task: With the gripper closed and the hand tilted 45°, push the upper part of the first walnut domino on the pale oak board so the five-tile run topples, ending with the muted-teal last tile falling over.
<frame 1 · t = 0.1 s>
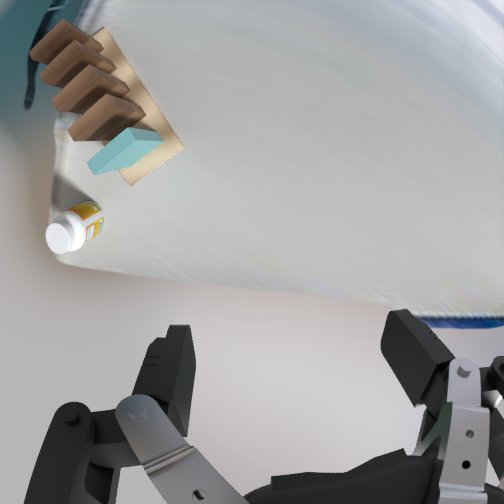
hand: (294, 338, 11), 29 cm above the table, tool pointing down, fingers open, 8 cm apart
domino 4: (127, 123, 32), point 1 cm above the table, touching domino board
supplement bottle: (91, 217, 37), on the table
domino 5: (143, 149, 34), point 1 cm above the table, touching domino board
domino 2: (99, 78, 29), point 1 cm above the table, touching domino board
domino 1: (87, 58, 28), point 1 cm above the table, touching domino board
domino board: (114, 100, 32), on the table
domino 3: (112, 99, 31), point 1 cm above the table, touching domino board
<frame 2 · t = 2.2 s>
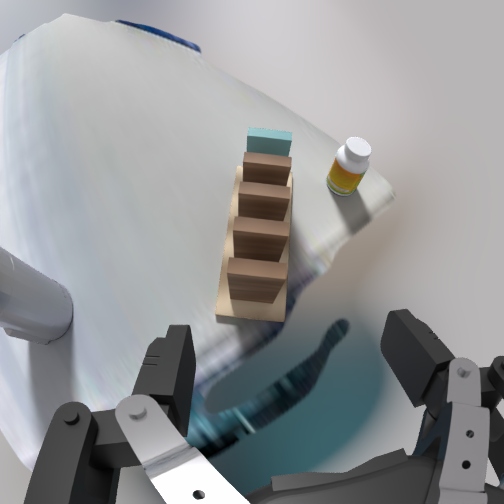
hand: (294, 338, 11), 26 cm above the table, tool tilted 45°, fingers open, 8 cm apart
domino 4: (261, 207, 42), point 1 cm above the table, touching domino board
supplement bottle: (340, 184, 46), on the table
domino 5: (263, 183, 44), point 1 cm above the table, touching domino board
domino 2: (255, 263, 39), point 1 cm above the table, touching domino board
domino 1: (252, 295, 37), point 1 cm above the table, touching domino board
domino board: (258, 236, 41), on the table
domino 3: (258, 233, 41), point 1 cm above the table, touching domino board
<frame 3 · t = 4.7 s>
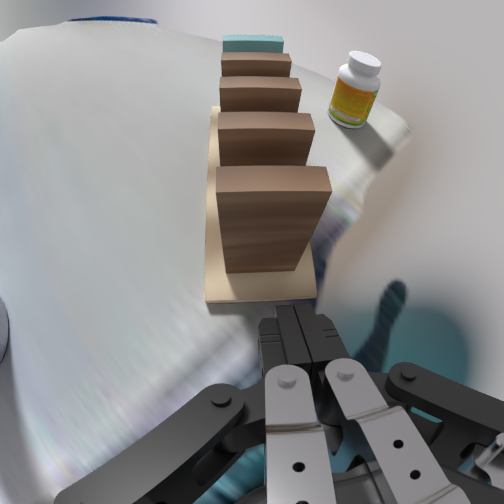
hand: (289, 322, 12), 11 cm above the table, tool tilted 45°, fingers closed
domino 4: (251, 145, 29), point 1 cm above the table, touching domino board
supplement bottle: (345, 117, 34), on the table
domino 5: (249, 119, 31), point 1 cm above the table, touching domino board
domino 2: (256, 216, 25), point 1 cm above the table, touching domino board
domino 1: (259, 263, 23), point 1 cm above the table, touching domino board
domino board: (253, 182, 28), on the table
domino 3: (253, 177, 27), point 1 cm above the table, touching domino board
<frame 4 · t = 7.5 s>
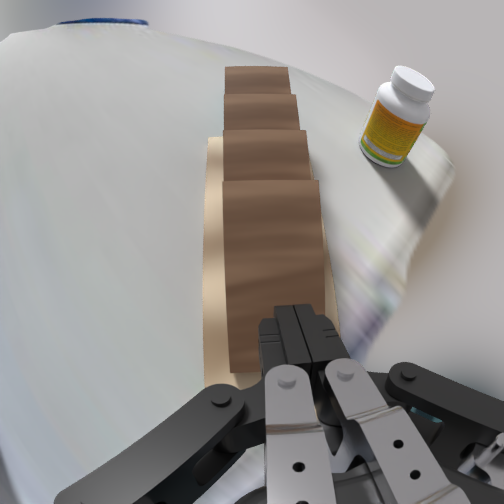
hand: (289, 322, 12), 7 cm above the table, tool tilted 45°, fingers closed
domino 4: (262, 180, 22), point 2 cm above the table, tilted 68°, touching domino 3, domino 5
supplement bottle: (380, 151, 26), on the table
domino 2: (271, 296, 18), point 2 cm above the table, tilted 69°, touching domino 1, domino 3, domino board
domino 1: (276, 366, 16), point 2 cm above the table, tilted 69°, touching domino 2, domino board
domino board: (266, 258, 21), on the table
domino 3: (266, 234, 20), point 2 cm above the table, tilted 68°, touching domino 2, domino 4, domino board
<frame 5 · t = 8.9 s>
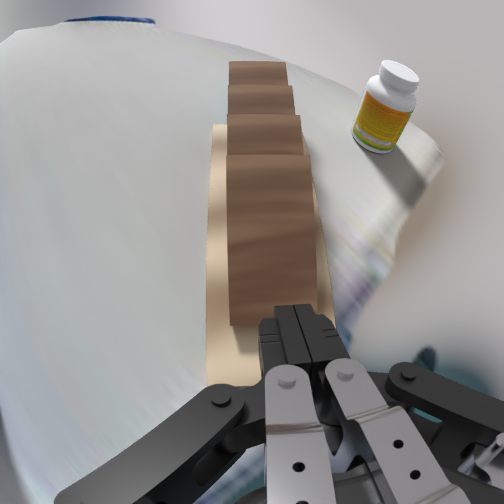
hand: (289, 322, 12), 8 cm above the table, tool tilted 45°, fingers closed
domino 4: (261, 161, 24), point 2 cm above the table, tilted 68°, touching domino 3, domino 5
supplement bottle: (371, 139, 28), on the table
domino 2: (269, 259, 20), point 2 cm above the table, tilted 69°, touching domino 1, domino 3, domino board
domino 1: (273, 321, 18), point 2 cm above the table, tilted 69°, touching domino 2, domino board
domino board: (264, 228, 23), on the table
domino 3: (265, 206, 22), point 2 cm above the table, tilted 68°, touching domino 2, domino 4, domino board
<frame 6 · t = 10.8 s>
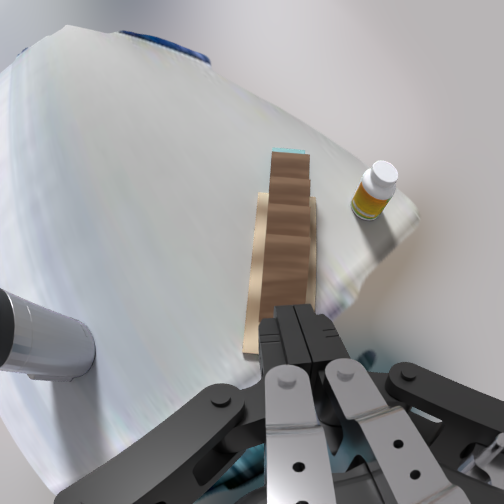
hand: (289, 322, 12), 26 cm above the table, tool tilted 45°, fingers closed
domino 4: (286, 226, 41), point 2 cm above the table, tilted 68°, touching domino 3, domino 5
supplement bottle: (364, 207, 44), on the table
domino 2: (282, 289, 37), point 2 cm above the table, tilted 69°, touching domino 1, domino 3, domino board
domino 1: (280, 322, 35), point 2 cm above the table, tilted 69°, touching domino 2, domino board
domino board: (283, 269, 40), on the table
domino 3: (284, 257, 39), point 2 cm above the table, tilted 68°, touching domino 2, domino 4, domino board
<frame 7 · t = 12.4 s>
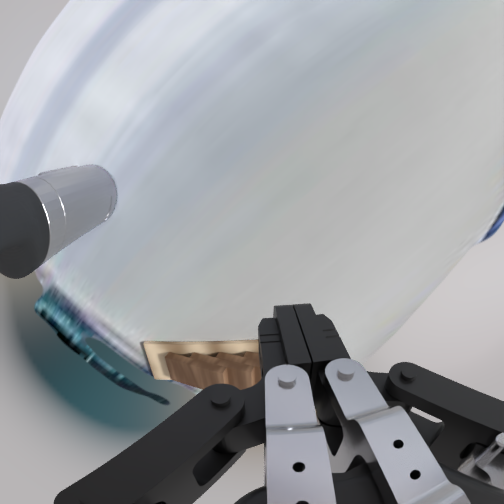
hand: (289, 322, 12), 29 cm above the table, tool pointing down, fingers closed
domino 2: (194, 366, 47), point 2 cm above the table, tilted 69°, touching domino 1, domino 3, domino board
domino 1: (170, 365, 47), point 2 cm above the table, tilted 69°, touching domino 2, domino board
domino board: (213, 360, 48), on the table
domino 3: (219, 366, 47), point 2 cm above the table, tilted 68°, touching domino 2, domino 4, domino board
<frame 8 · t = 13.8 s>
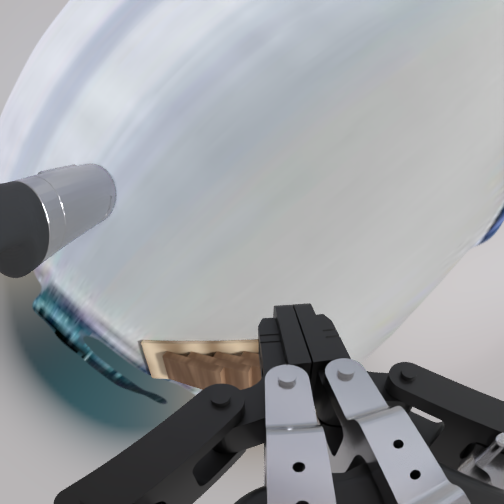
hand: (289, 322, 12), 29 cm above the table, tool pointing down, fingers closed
domino 2: (191, 365, 47), point 2 cm above the table, tilted 69°, touching domino 1, domino 3, domino board
domino 1: (167, 365, 47), point 2 cm above the table, tilted 69°, touching domino 2, domino board
domino board: (210, 360, 48), on the table
domino 3: (216, 365, 47), point 2 cm above the table, tilted 68°, touching domino 2, domino 4, domino board
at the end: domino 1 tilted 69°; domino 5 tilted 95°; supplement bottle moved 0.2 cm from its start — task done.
